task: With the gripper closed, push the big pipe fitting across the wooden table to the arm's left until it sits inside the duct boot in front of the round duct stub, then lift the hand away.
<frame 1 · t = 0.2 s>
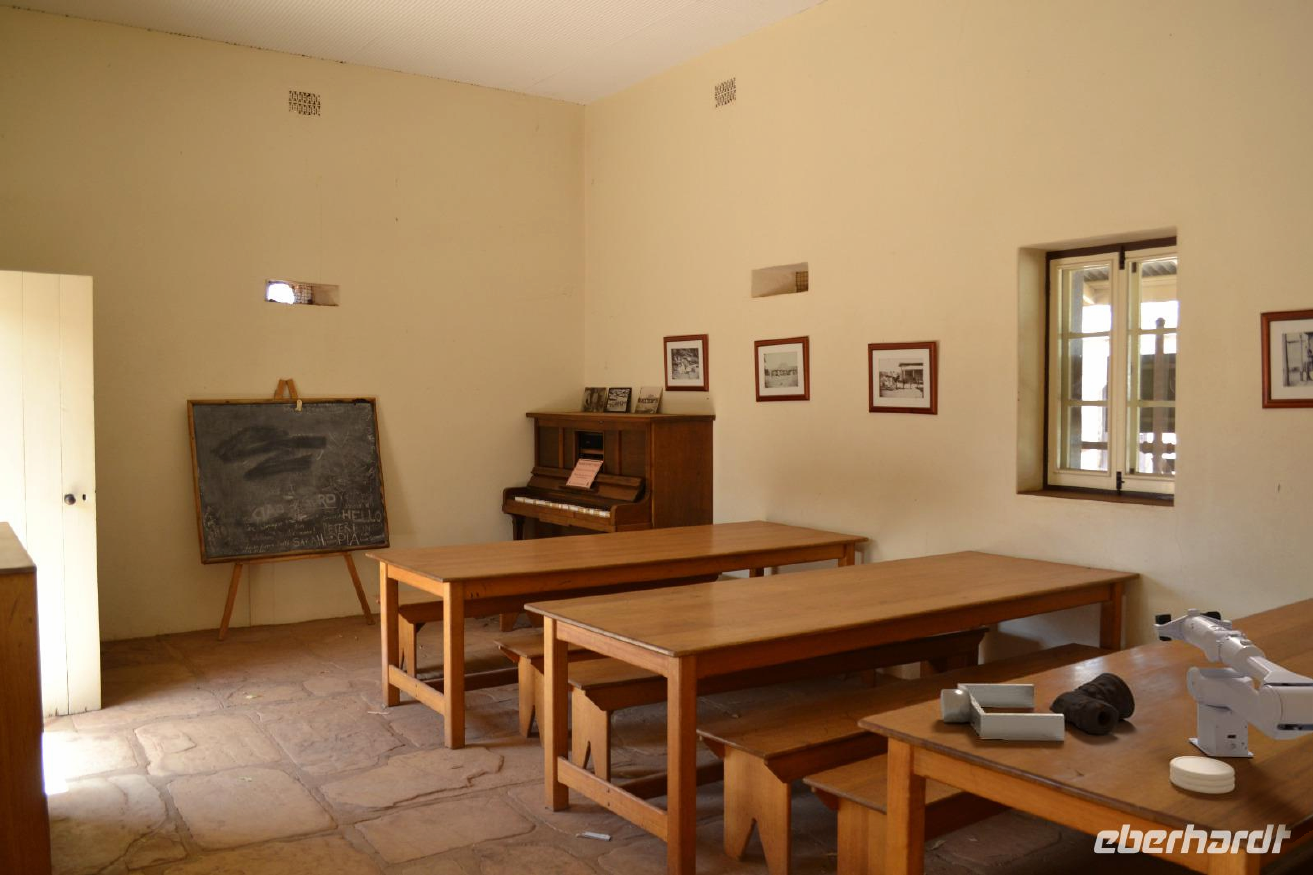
hand: (1176, 618, 214), 21 cm above the table, tool horizontal, fingers open, 7 cm apart
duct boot: (1012, 722, 213), on the table
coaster: (1201, 785, 177), on the table
pipe: (1095, 725, 212), on the table
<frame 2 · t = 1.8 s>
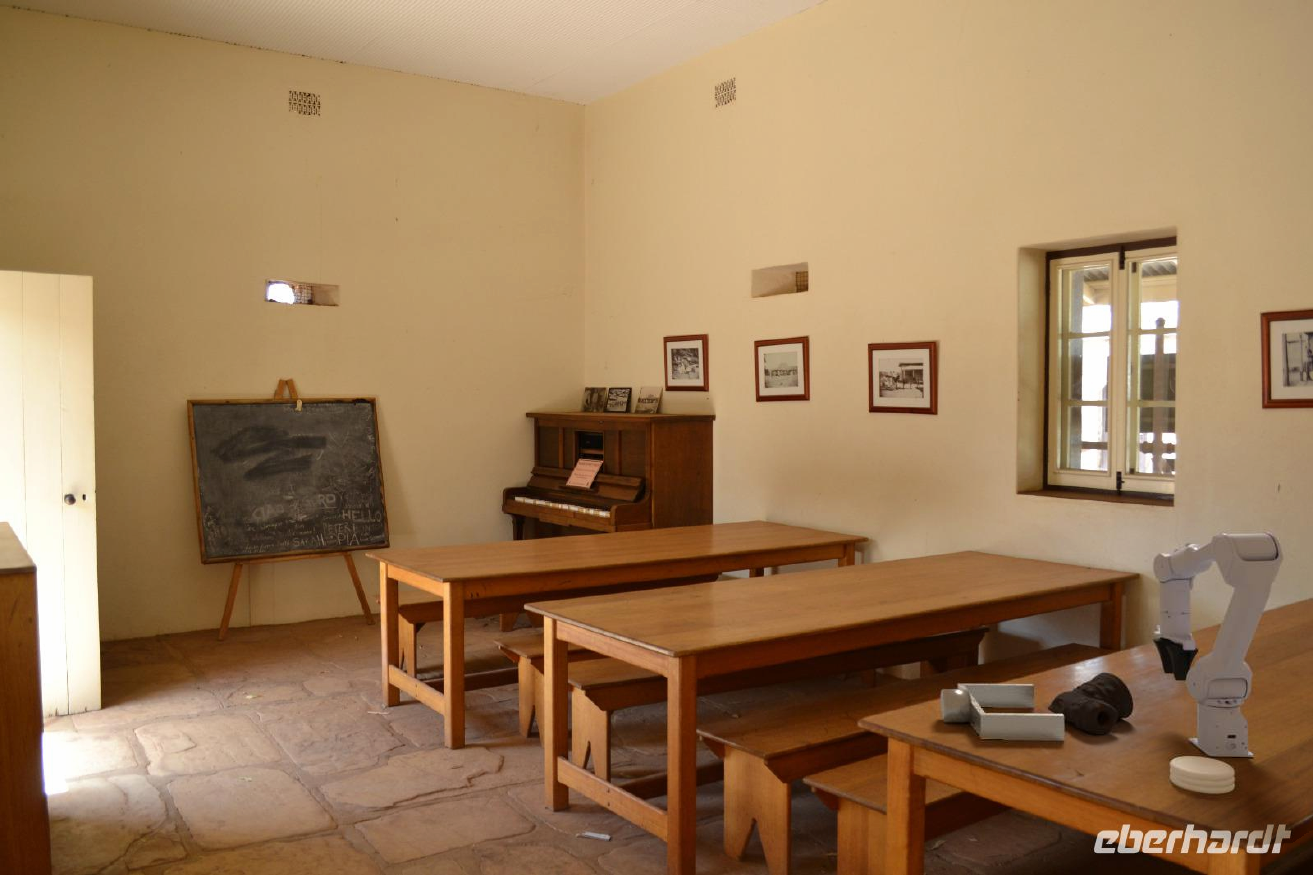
hand: (1175, 676, 210), 10 cm above the table, tool pointing down, fingers open, 5 cm apart
nothing on the table moved.
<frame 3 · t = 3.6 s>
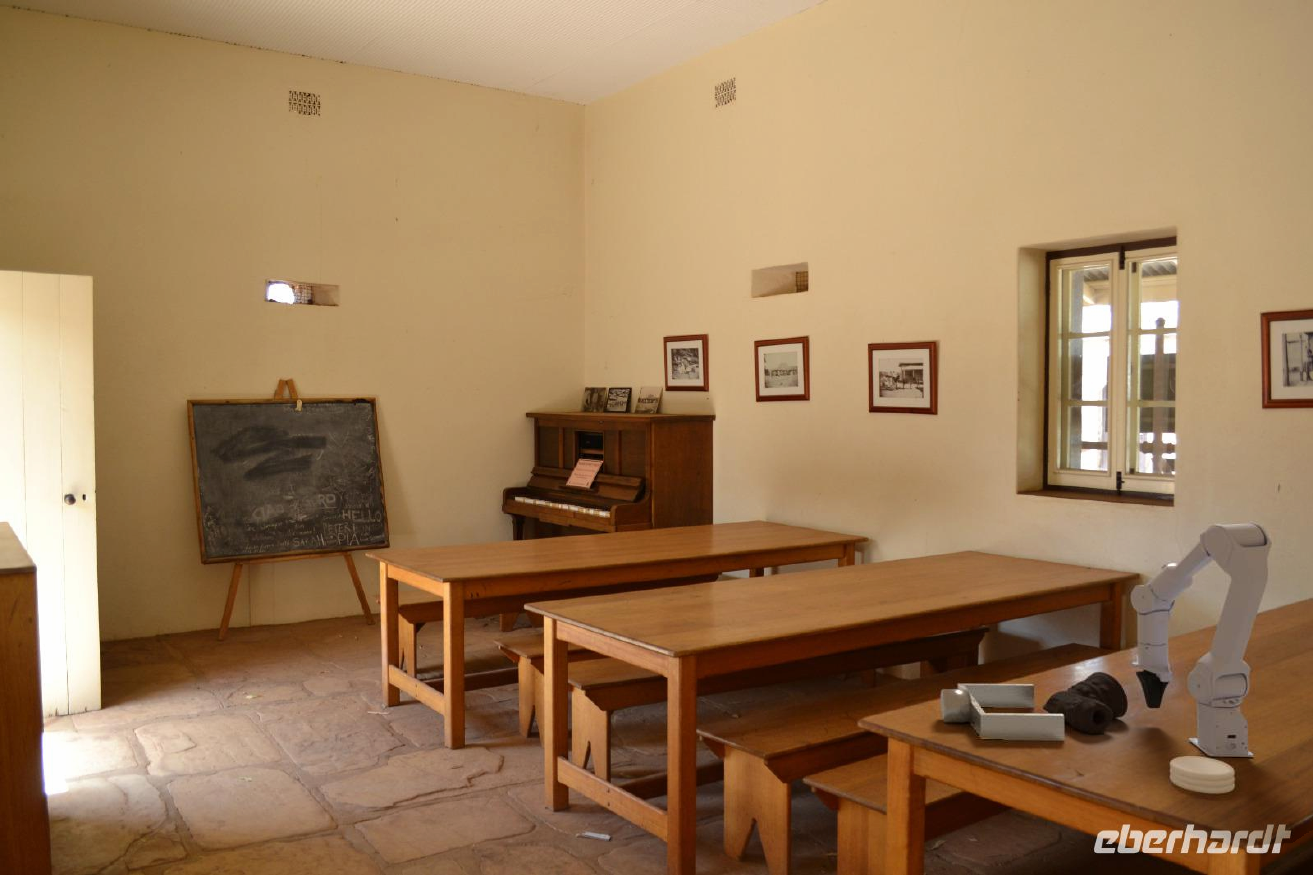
hand: (1153, 707, 211), 3 cm above the table, tool pointing down, fingers closed
pipe: (1089, 724, 212), on the table
everything else where it was.
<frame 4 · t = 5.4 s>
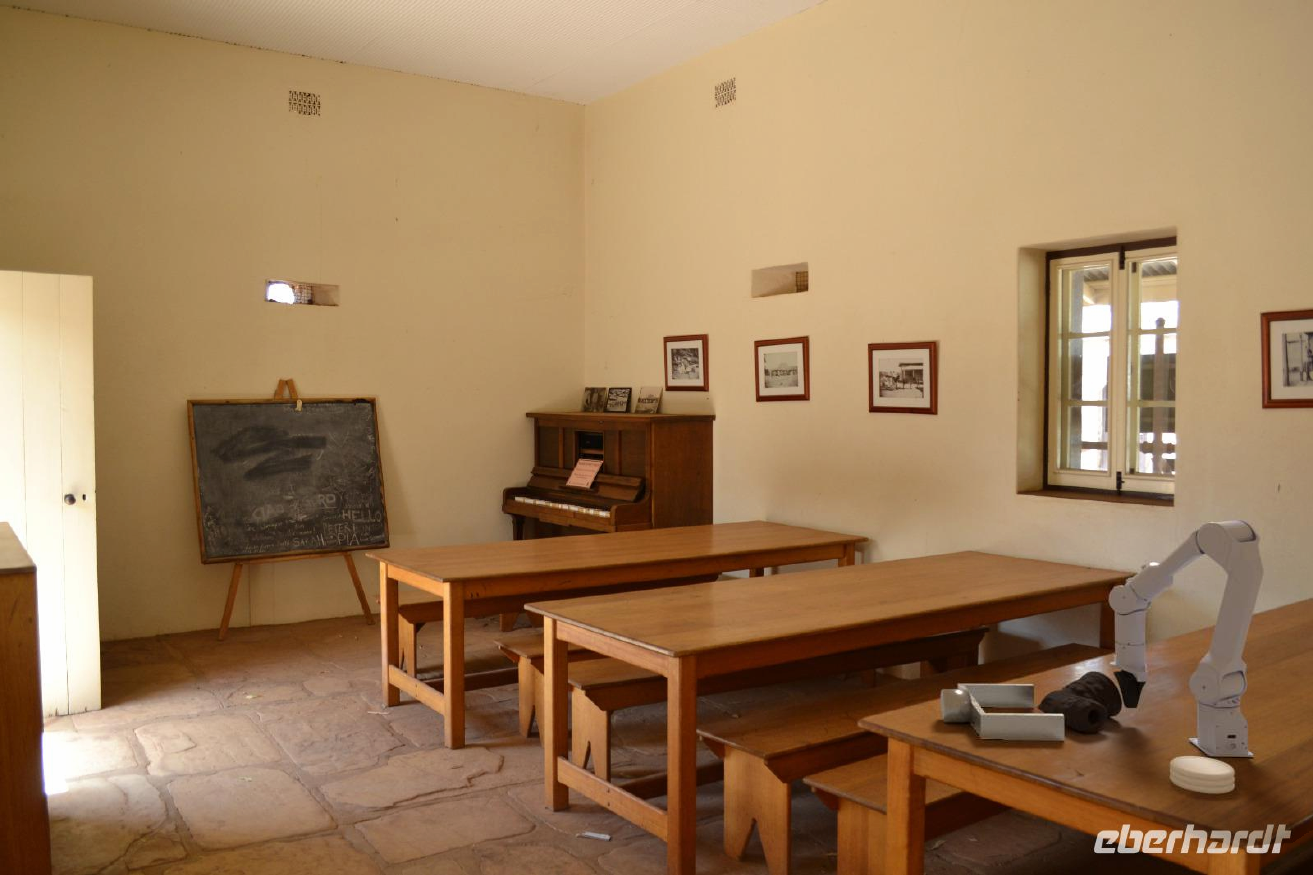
hand: (1130, 707, 211), 3 cm above the table, tool pointing down, fingers closed
pipe: (1083, 723, 213), on the table, touching gripper
everything else where it was.
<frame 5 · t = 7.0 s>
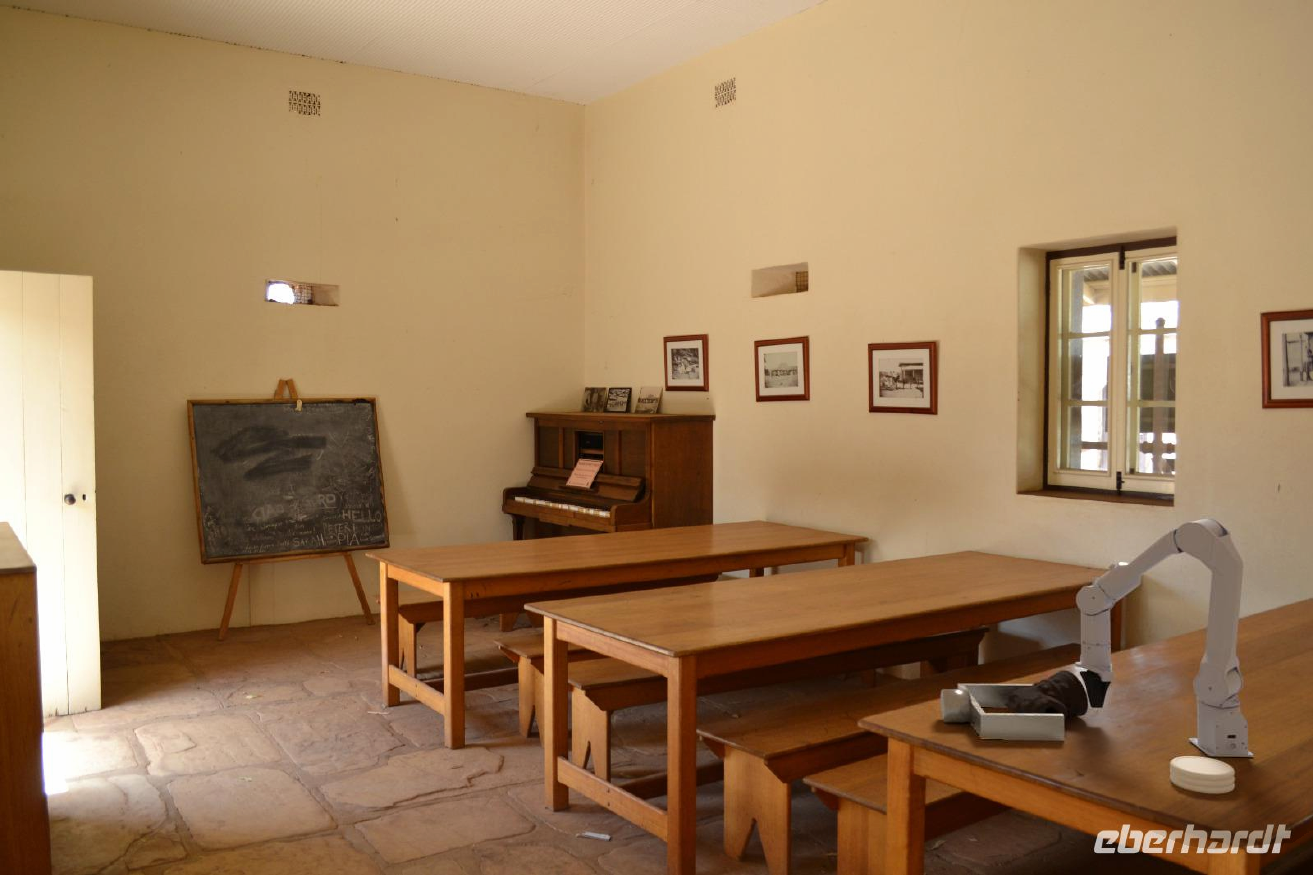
hand: (1096, 707, 212), 3 cm above the table, tool pointing down, fingers closed
pipe: (1049, 721, 214), on the table, touching gripper
everything else where it was.
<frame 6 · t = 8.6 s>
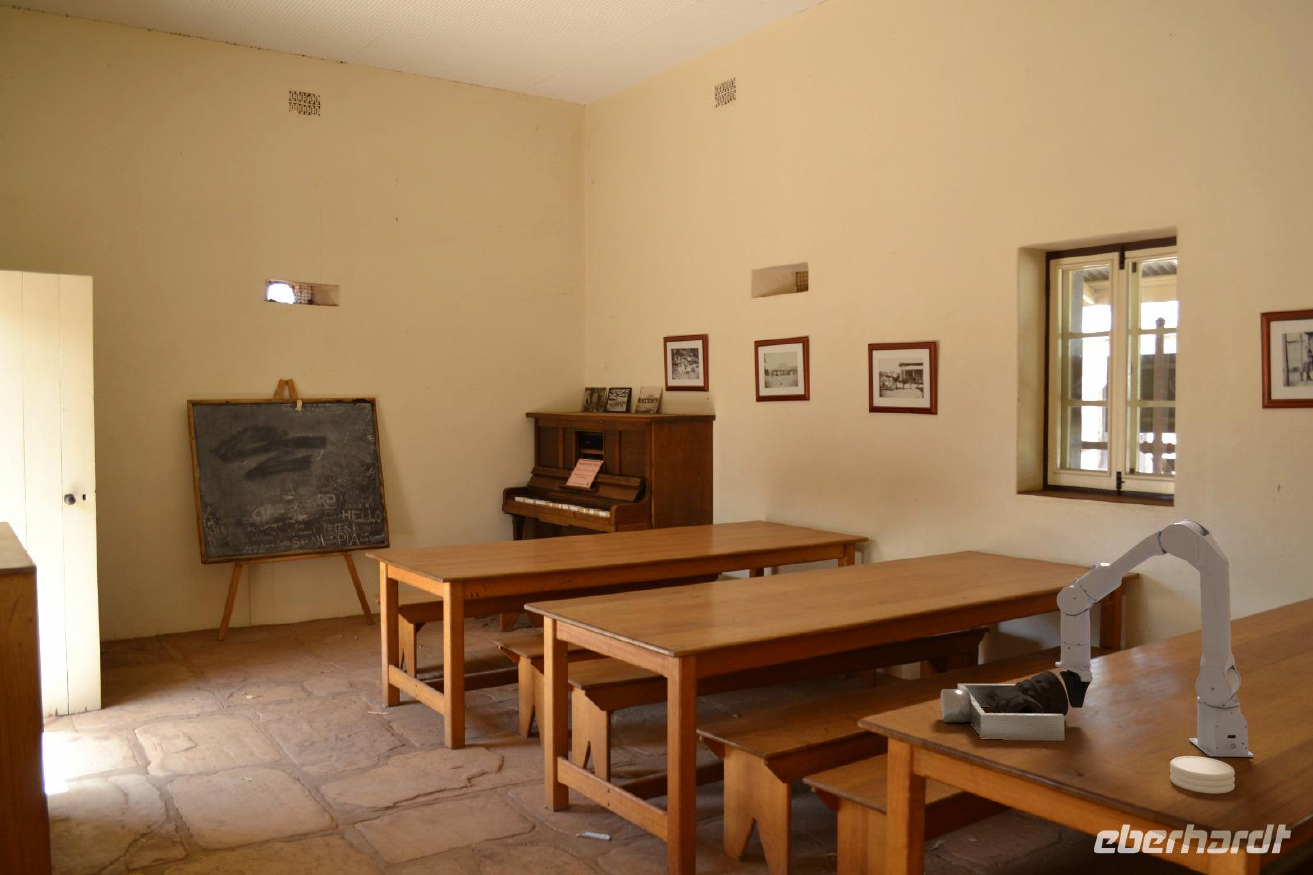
hand: (1076, 706, 212), 3 cm above the table, tool pointing down, fingers closed
pipe: (1029, 720, 215), on the table, touching gripper
everything else where it was.
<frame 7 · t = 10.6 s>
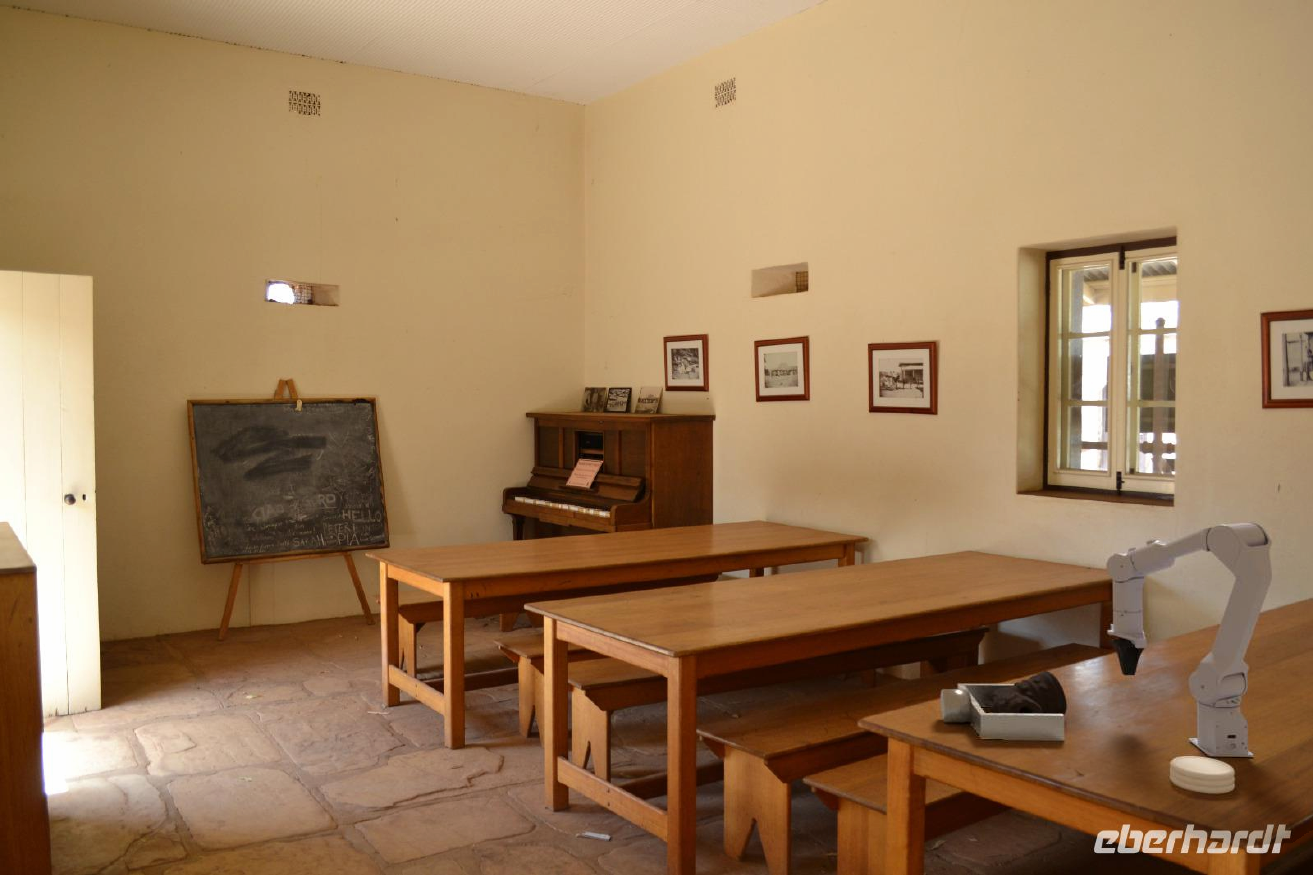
hand: (1128, 674, 212), 10 cm above the table, tool pointing down, fingers closed
pipe: (1027, 721, 215), on the table
everything else where it was.
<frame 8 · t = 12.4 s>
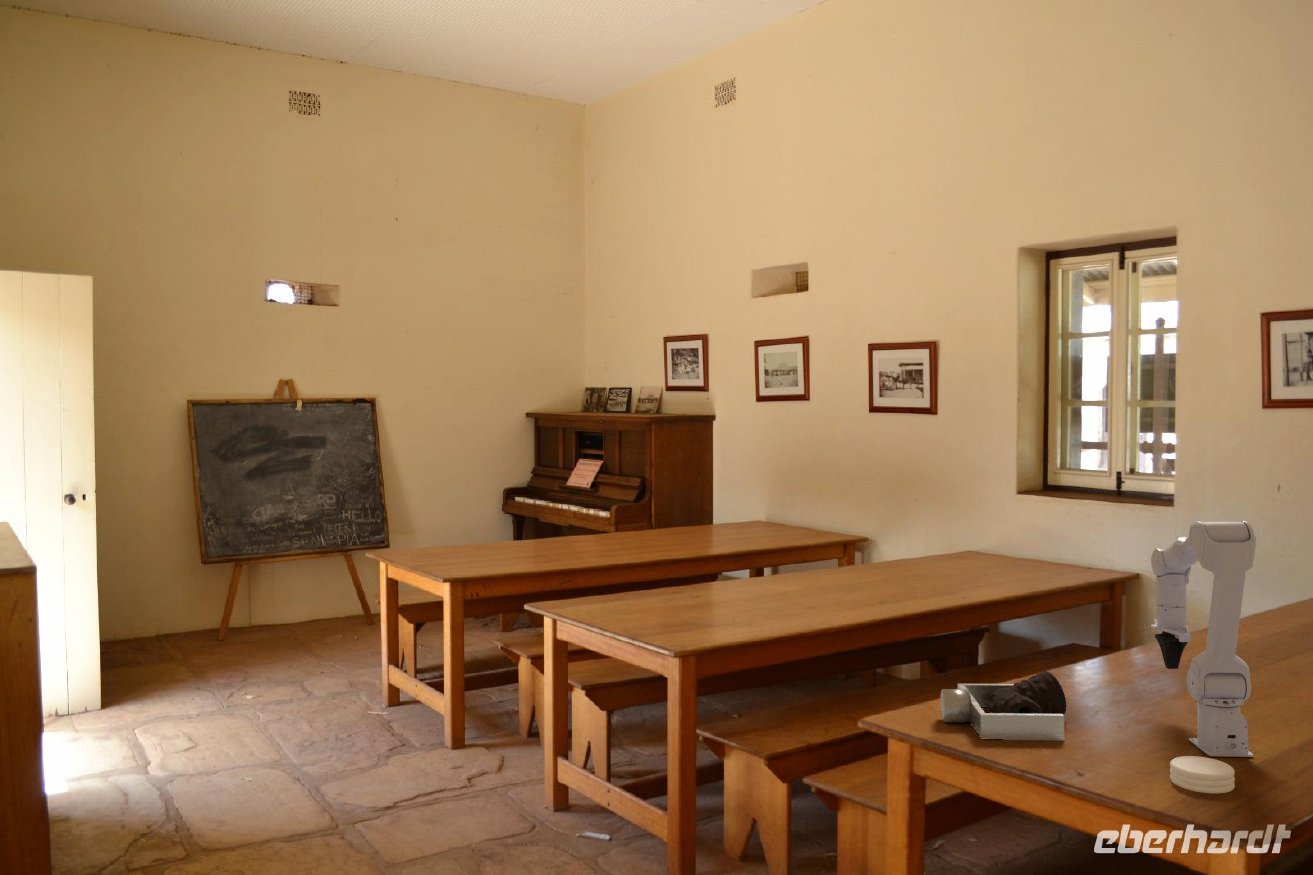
hand: (1171, 668, 217), 10 cm above the table, tool pointing down, fingers closed
nothing on the table moved.
at the end: pipe inside the target area on the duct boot (2.4 cm from its centre), point 0.0 cm above the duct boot's base; pipe moved 13.6 cm from its start; pipe on the table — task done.
